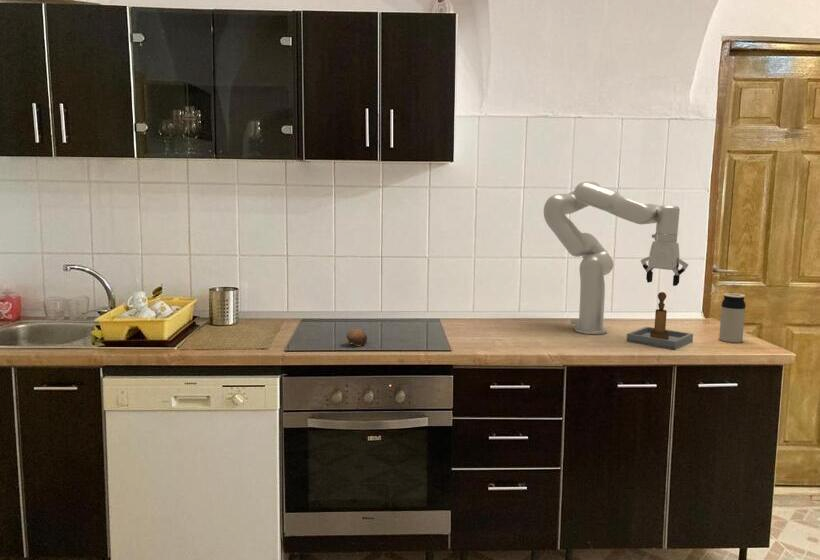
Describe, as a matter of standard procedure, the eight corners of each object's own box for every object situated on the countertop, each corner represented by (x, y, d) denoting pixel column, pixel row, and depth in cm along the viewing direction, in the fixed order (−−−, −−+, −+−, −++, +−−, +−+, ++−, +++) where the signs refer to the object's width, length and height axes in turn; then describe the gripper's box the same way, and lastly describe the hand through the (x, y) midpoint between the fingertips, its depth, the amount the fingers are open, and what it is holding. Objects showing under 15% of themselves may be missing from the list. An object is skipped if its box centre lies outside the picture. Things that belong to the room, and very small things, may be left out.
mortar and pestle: (665, 341, 229) (668, 294, 226) (647, 339, 232) (650, 292, 230) (670, 338, 234) (673, 292, 231) (652, 336, 238) (655, 290, 235)
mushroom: (342, 334, 228) (349, 322, 225) (360, 340, 232) (368, 328, 229) (343, 348, 222) (351, 336, 219) (362, 354, 225) (370, 343, 222)
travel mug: (728, 343, 231) (732, 296, 228) (714, 338, 238) (718, 293, 236) (747, 342, 232) (751, 296, 230) (732, 337, 240) (736, 292, 237)
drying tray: (626, 341, 233) (627, 333, 232) (646, 333, 246) (646, 326, 245) (674, 350, 221) (675, 341, 220) (692, 341, 233) (693, 333, 233)
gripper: (639, 237, 231) (635, 281, 233) (686, 240, 219) (681, 287, 222) (647, 236, 236) (643, 280, 239) (693, 239, 224) (689, 285, 227)
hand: (662, 283), depth 230 cm, fingers open, 9 cm apart
